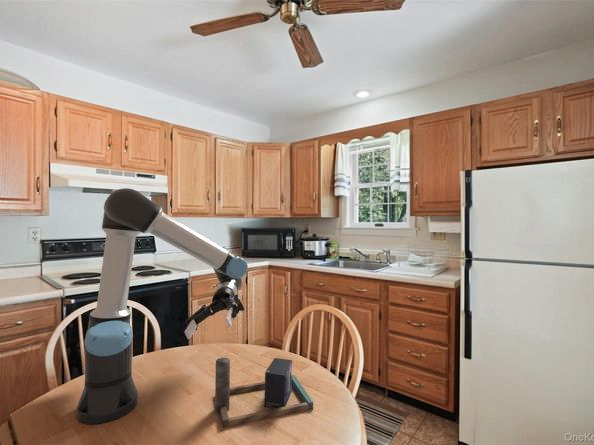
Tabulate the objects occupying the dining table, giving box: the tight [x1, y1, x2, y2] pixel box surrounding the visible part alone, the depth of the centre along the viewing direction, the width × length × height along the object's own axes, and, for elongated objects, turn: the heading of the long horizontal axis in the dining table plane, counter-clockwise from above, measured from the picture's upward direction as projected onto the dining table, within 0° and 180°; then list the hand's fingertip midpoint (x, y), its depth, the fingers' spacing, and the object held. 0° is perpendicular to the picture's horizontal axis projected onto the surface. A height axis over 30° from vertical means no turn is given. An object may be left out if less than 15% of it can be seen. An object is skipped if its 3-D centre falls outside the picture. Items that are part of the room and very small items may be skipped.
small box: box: [263, 357, 293, 409], centre depth 94 cm, size 11×6×10 cm, turn 168°
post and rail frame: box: [214, 357, 314, 429], centre depth 92 cm, size 27×16×14 cm, turn 110°
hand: (207, 329), depth 93 cm, fingers open, 13 cm apart
